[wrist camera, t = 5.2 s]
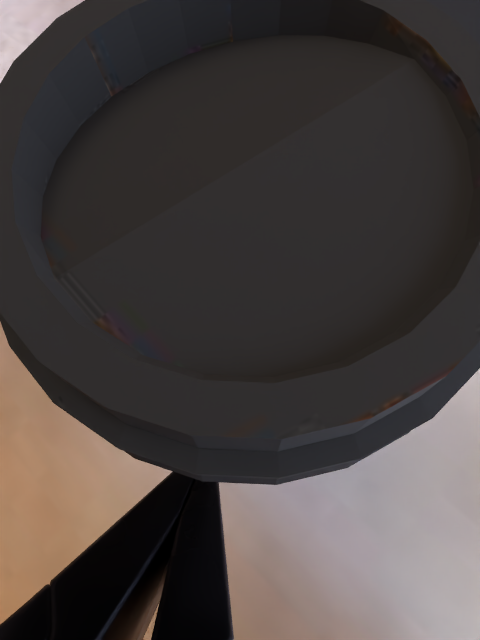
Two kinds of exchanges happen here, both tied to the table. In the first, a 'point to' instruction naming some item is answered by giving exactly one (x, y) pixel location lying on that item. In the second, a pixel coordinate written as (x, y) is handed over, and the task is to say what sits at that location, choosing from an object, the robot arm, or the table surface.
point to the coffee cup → (244, 226)
